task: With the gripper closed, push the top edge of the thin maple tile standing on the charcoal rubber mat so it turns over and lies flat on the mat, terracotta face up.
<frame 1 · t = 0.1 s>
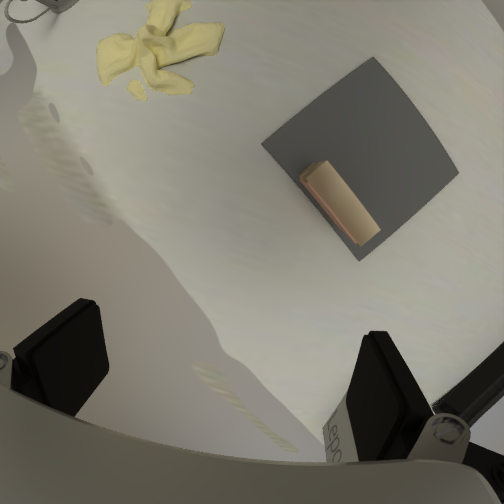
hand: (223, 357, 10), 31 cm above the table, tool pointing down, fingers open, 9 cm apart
brochure: (353, 404, 47), on the table
mat: (370, 155, 36), on the table
magazine: (490, 357, 43), on the table
tile: (325, 193, 38), resting on mat
glass holder: (64, 5, 32), on the table
cloth: (162, 54, 36), on the table
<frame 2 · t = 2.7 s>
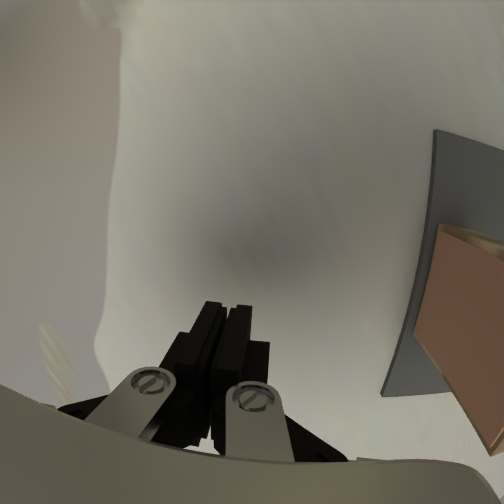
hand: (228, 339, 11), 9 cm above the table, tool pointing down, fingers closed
tile: (441, 282, 18), resting on mat
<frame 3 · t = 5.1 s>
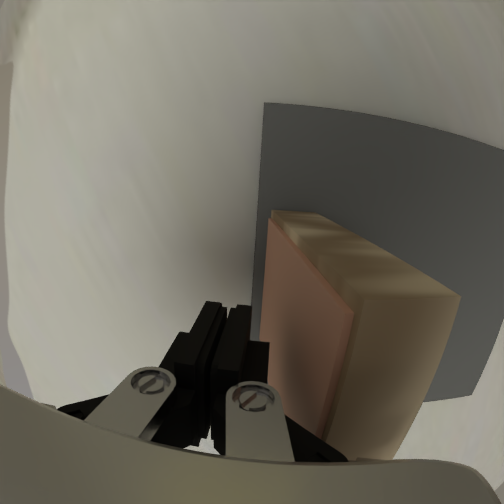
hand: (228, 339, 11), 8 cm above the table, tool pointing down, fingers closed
mat: (407, 284, 18), on the table
tile: (287, 279, 18), point 1 cm above the table, tilted 9°, touching mat
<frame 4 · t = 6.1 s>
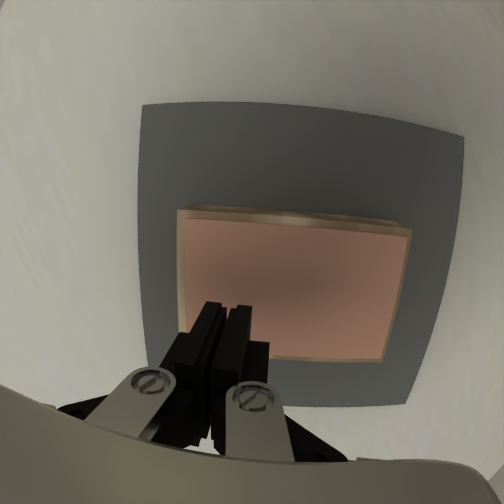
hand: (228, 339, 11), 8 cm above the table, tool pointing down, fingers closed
mat: (299, 277, 19), on the table
tile: (183, 277, 17), point 2 cm above the table, tilted 90°, touching mat
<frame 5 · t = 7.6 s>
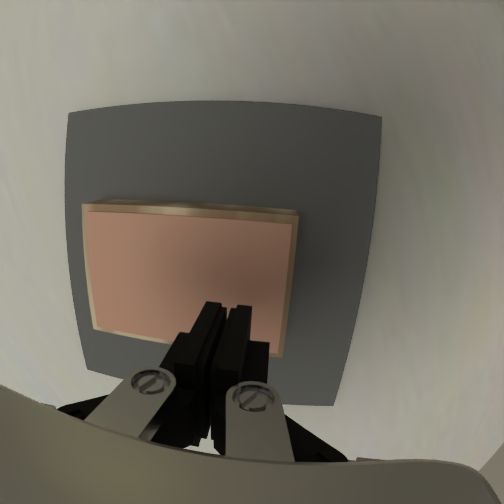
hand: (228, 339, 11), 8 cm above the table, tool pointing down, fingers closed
mat: (201, 266, 19), on the table
tile: (95, 264, 18), point 2 cm above the table, tilted 90°, touching mat
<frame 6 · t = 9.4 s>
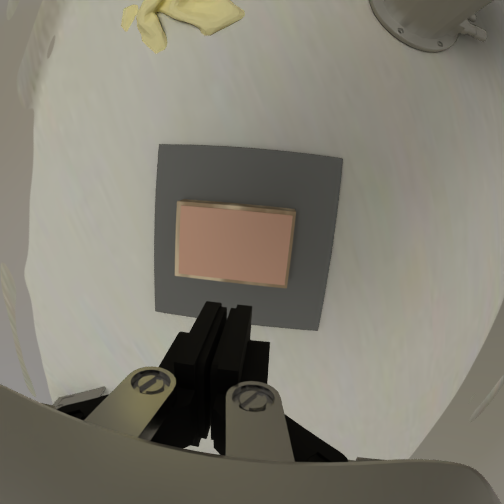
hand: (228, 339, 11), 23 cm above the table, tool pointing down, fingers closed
brochure: (89, 403, 44), on the table
mat: (241, 239, 34), on the table
tile: (179, 237, 33), point 2 cm above the table, tilted 90°, touching mat
cloth: (176, 1, 28), on the table
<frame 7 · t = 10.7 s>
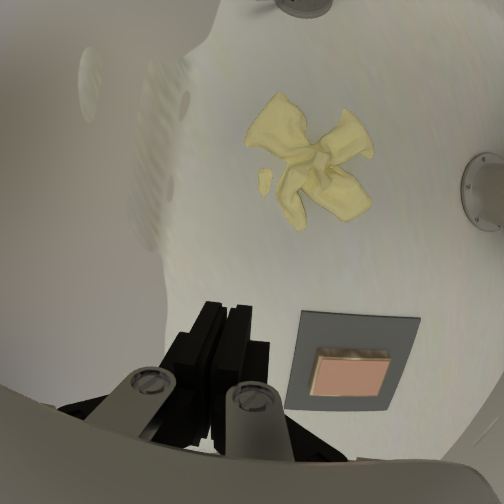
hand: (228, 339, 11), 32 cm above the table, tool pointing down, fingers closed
mat: (350, 367, 47), on the table
tile: (313, 372, 46), point 2 cm above the table, tilted 90°, touching mat
glass holder: (288, 4, 34), on the table
cloth: (310, 172, 41), on the table
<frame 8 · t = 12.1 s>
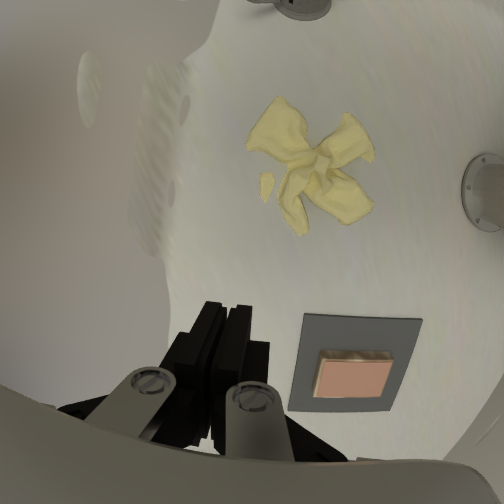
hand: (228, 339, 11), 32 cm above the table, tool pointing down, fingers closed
mat: (353, 369, 47), on the table
tile: (316, 374, 46), point 2 cm above the table, tilted 90°, touching mat
glass holder: (287, 6, 34), on the table
cloth: (311, 176, 41), on the table
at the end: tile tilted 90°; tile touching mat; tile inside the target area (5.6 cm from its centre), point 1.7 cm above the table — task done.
